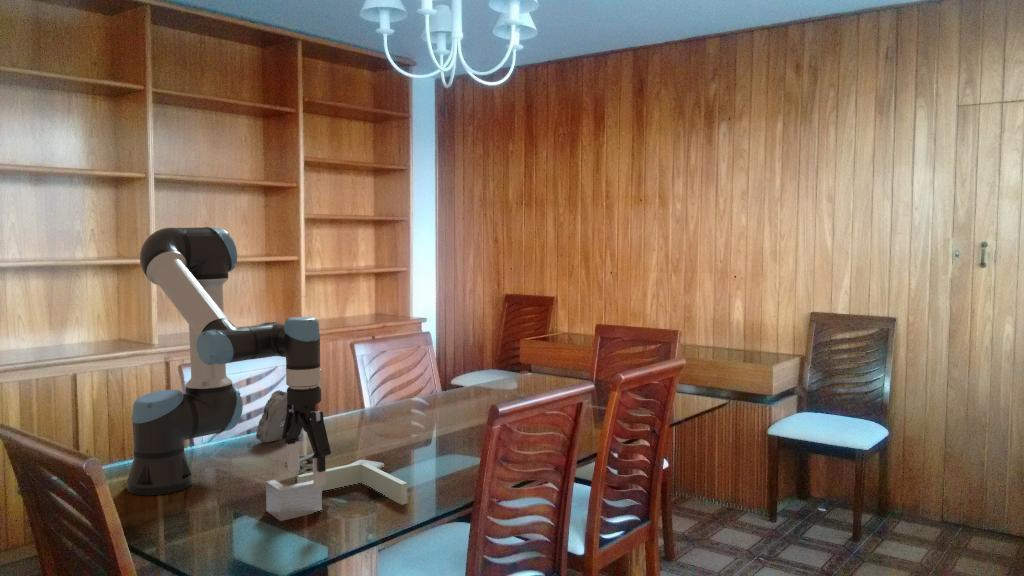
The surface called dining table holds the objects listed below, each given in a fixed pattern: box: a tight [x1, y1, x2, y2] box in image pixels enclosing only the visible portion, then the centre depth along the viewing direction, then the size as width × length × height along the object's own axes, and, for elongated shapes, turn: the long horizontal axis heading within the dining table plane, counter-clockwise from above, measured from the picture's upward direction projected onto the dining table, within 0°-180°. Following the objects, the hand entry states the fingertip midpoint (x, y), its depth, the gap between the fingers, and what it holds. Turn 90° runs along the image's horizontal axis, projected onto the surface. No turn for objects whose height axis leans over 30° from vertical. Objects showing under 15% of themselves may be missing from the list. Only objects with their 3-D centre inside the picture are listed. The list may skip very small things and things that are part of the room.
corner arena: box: [296, 462, 408, 506], centre depth 193 cm, size 18×21×5 cm
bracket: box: [265, 479, 323, 522], centre depth 185 cm, size 10×8×7 cm
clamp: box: [284, 450, 314, 474], centre depth 220 cm, size 15×2×10 cm
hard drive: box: [350, 459, 385, 470], centre depth 215 cm, size 2×8×12 cm
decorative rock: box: [255, 389, 288, 443], centre depth 243 cm, size 16×7×15 cm, turn 158°
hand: (306, 478), depth 183 cm, fingers open, 13 cm apart
